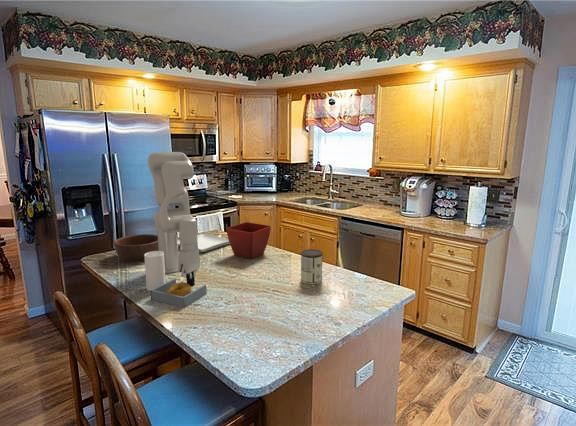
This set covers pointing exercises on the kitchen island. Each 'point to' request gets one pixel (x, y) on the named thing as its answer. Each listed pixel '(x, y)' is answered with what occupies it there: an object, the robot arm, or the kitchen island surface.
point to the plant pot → (248, 239)
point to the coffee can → (311, 266)
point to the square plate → (209, 242)
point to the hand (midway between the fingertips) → (190, 285)
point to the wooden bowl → (135, 247)
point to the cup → (154, 269)
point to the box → (162, 296)
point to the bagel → (180, 289)
